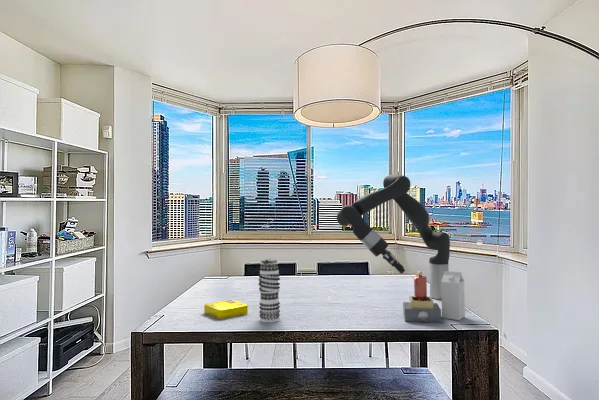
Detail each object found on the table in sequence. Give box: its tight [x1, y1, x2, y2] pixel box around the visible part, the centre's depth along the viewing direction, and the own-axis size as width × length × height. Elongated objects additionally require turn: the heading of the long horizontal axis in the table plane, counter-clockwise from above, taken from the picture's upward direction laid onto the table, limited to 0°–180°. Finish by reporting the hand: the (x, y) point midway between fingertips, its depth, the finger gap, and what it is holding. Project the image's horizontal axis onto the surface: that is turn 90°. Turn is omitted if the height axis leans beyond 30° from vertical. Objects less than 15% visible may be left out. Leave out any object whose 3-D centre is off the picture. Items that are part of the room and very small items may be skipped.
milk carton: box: [441, 270, 466, 321], centre depth 170 cm, size 7×7×19 cm
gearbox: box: [402, 295, 442, 324], centre depth 169 cm, size 13×14×8 cm
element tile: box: [203, 298, 249, 320], centre depth 181 cm, size 15×15×5 cm
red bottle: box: [413, 271, 428, 301], centre depth 170 cm, size 5×5×14 cm
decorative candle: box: [257, 258, 281, 323], centre depth 170 cm, size 9×9×25 cm
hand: (402, 270), depth 171 cm, fingers open, 8 cm apart
